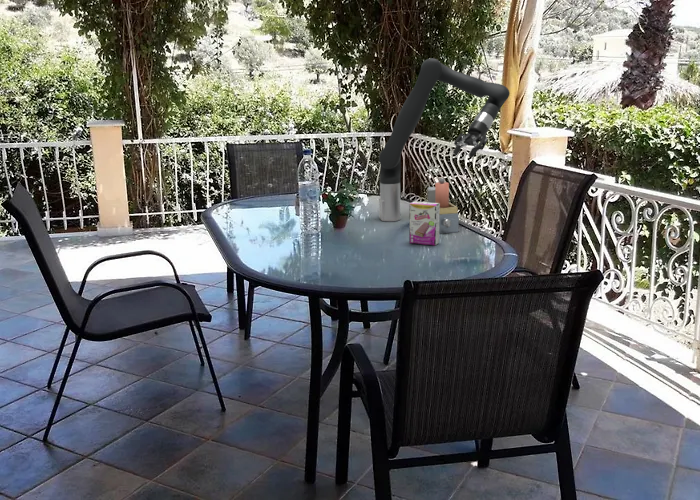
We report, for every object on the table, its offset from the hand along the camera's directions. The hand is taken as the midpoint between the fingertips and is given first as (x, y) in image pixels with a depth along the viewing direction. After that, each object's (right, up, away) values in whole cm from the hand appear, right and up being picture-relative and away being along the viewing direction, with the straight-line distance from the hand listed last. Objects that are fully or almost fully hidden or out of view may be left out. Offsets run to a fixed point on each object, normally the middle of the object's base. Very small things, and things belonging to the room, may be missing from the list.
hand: (462, 155), depth 273 cm
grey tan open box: (-8, -31, +7) cm, 33 cm away
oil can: (-8, -23, +5) cm, 25 cm away
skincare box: (-8, -27, +21) cm, 35 cm away
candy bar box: (-18, -37, -14) cm, 44 cm away
